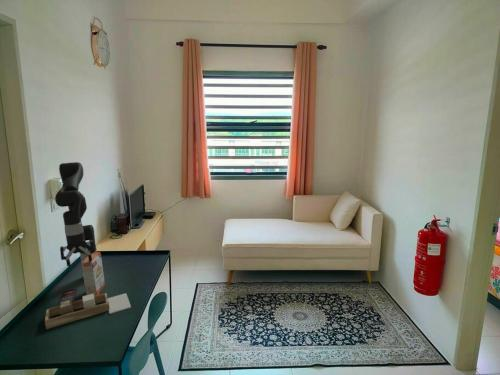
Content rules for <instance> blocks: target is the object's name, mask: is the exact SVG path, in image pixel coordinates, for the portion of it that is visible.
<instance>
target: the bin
mask: <svg viewBox="0 0 500 375" xmlns="http://www.w3.org/2000/svg"><path fill="white" fill-rule="evenodd" d="M108 298H109V296H108V292H105V293H100V294H99V295H96V296H94V299H95V305H96V306H93V307H89V308H86V309H84V305H83V298H82V299H78V300H74V302H72V306H73V312H72V313H69V314H65V315H62V316H60V310H59V305H57V306H54V307H50V308H47V309H46V311H45V316H44V317H45V319H44V325H45V329H46V330H49V329H52V328H53V329H54V328H56V327H60V326H62V325H66V324H68V323H71V322H75V321H79V320H82V319H86V318H88V317H89V318H90V317H92V316H94V315H98V314H102V313H105V312H109V309H110V307H109V301H108ZM99 303H101V304H99ZM79 309H80V310H79ZM76 310H77V311H76ZM58 315H59V316H58ZM54 316H56V317H54Z"/></svg>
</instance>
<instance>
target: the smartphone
mask: <svg viewBox="0 0 500 375" xmlns="http://www.w3.org/2000/svg"><path fill="white" fill-rule="evenodd" d="M77 293H78V288H76V289H69V290H66V291H63V292H62V294H61V297H60V299H59V301H58V305H57V306H59V304H60V302H64V301H68V300H71V301H72V302H75V301H76V300H75V299H76V296H77Z"/></svg>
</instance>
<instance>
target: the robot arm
mask: <svg viewBox="0 0 500 375" xmlns="http://www.w3.org/2000/svg"><path fill="white" fill-rule="evenodd" d="M58 170H59V175H60V178H61V183H62V186H61V188H60V189H59V190H58V191H57V192H56V194H55V197H54V201H55V204H56V205H57V206H58V207H61V208H65V207H67V208H68V210H66V211H64V212H63V214H62V218H63V224H64V234H65V240H66V244H67V245H65V246H63V245H61V246H60V247H59V251H60V259H61V261H65V262H66V266H67V267H69V268H72V267H71V266H72V265H71V259H70V258H71V256H72V255H73V254H74V255H75V254H78V253H79V256H80V261H81V263H82V262H83V261H84V260H85V259H86V258H87V257H88V258H89V262H91V261H92V256H91V254H92V253H97V252H98V250H97V244H96V237H95V228H94V226H93V224H86V225H85V224H84V225H83V223H82V219H83V216H84V214H85V213H86V211H87V209H88V207H87V202H86V201H87V200H86V198H85V196H84V194H83V193H81V191H79V187H80V184H81V182H82V180H83V177H84V167H83V165H82V163H81V162H78V161H74V162H62V163H60V164H59V166H58ZM66 250H68V253H67V254H66V256H65V254H64V252H65V251H66Z"/></svg>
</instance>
